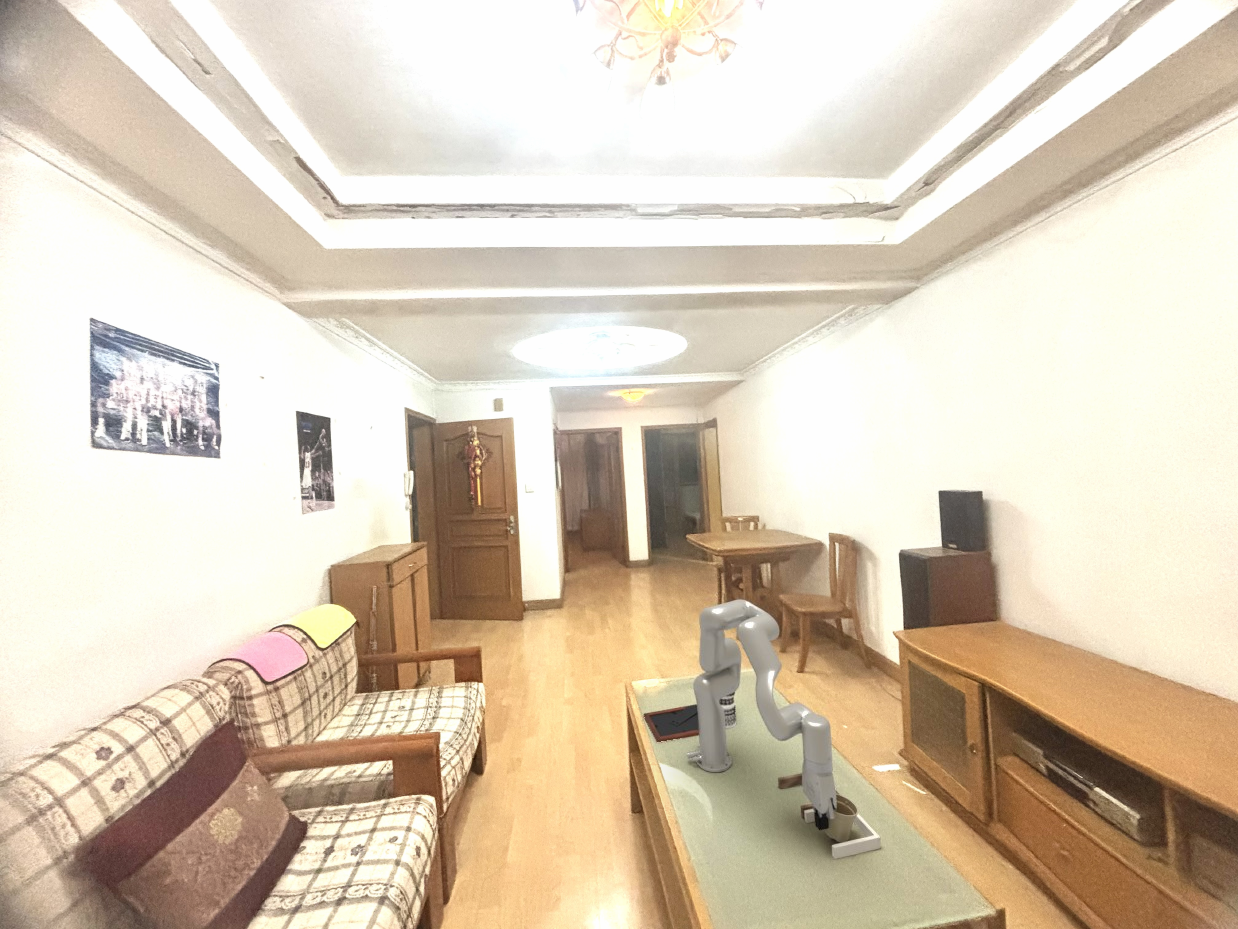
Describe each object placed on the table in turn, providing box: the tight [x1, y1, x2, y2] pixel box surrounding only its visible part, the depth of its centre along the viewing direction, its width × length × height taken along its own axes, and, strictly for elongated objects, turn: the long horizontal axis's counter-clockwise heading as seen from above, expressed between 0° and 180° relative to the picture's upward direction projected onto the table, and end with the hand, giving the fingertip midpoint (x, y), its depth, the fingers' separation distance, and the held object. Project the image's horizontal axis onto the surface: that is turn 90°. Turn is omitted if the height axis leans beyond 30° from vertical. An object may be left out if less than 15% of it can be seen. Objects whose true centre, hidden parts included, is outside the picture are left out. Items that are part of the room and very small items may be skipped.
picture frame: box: [643, 703, 699, 743], centre depth 197 cm, size 20×2×25 cm
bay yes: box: [804, 809, 882, 860], centre depth 136 cm, size 14×14×3 cm
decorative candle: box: [719, 691, 737, 729], centre depth 195 cm, size 9×9×25 cm
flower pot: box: [824, 793, 859, 843], centre depth 135 cm, size 9×9×9 cm
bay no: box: [777, 772, 840, 819], centre depth 151 cm, size 14×14×3 cm
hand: (821, 827), depth 135 cm, fingers closed
